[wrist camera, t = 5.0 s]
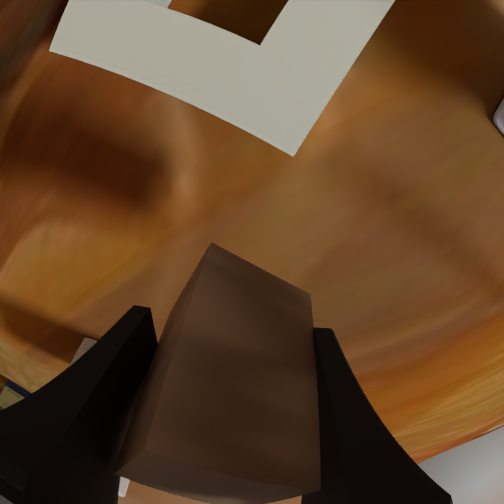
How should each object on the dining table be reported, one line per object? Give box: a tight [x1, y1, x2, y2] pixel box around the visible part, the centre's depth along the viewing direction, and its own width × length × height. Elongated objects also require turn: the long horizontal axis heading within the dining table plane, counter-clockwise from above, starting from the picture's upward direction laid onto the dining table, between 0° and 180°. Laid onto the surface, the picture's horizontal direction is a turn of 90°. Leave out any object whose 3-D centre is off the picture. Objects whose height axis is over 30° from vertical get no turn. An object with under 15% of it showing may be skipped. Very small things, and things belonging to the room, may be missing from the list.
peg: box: [114, 242, 321, 504], centre depth 9 cm, size 4×4×7 cm
